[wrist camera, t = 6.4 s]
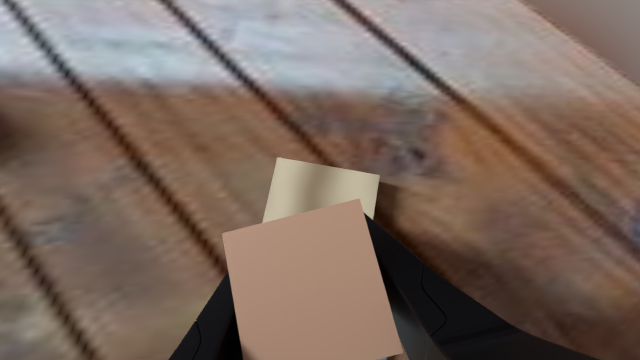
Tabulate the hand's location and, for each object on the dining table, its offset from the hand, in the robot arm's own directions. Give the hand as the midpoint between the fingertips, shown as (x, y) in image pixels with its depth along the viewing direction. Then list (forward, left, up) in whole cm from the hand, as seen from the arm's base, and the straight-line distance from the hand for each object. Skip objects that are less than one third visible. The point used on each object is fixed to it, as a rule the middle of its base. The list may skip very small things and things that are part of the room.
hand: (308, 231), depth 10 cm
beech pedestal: (0, -1, -12) cm, 12 cm away
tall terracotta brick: (-1, +1, -7) cm, 7 cm away
